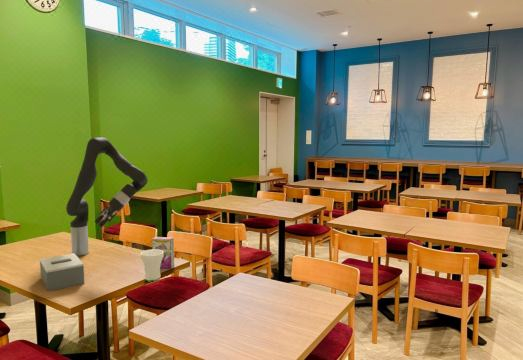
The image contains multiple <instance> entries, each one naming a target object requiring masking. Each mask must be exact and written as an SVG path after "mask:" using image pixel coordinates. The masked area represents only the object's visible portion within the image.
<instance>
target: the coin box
mask: <svg viewBox="0 0 523 360" xmlns="http://www.w3.org/2000/svg"><path fill="white" fill-rule="evenodd" d="M56 263H57V264H56ZM39 265H40V266H39V269H40V279H41V280H42V283H43V285H44V287H45V289H46V291H47V292H51V291H54V290H55V291H56V290H60V289H65V288H69V287H74V286H78V285H83V284H85V270H84V269H85V268H84V262H83V261H82V260H81V259H80V258H79V257H78V256H76V255H75V253H73V254H72V253H69V254H63V255H62V254H61V255H56V256H51V257H45V258H39Z"/></svg>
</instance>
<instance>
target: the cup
mask: <svg viewBox="0 0 523 360" xmlns="http://www.w3.org/2000/svg"><path fill="white" fill-rule="evenodd" d="M163 256H164V252H163V251H162V250H158V249H152V248H151V249H146V250H144V251H141V252H140V259H141V260H142V263H143V266H144V271H145V272H144V280H145V281H147V282H148V283H151V282H155V283H156V282H158V280H160V279H161V268H160V265H161V261H162V258H163Z"/></svg>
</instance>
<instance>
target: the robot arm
mask: <svg viewBox="0 0 523 360" xmlns="http://www.w3.org/2000/svg"><path fill="white" fill-rule="evenodd" d="M100 154H105V155H106V156H108V157H109V158H110V159H111V160H112V162H113V164H114V165H115V167H116V168H117V169H118V170H119V171H120V172H121V173H123V174H124V175H125V176H127V177H129V178H130V179H131V180H132V181H131V183H126V184H125V185H124V186H123V187H122V188H121V189H120V190H119V191H118V192H117V193H116V194H115V195H114V196H113V197H112V198H111V199H110V200H109V201H108V202H107V204H108V205H109V206H108V205H106V206H105V207H104V208H103V209H102V210H101V211H100V213H98V214H99V215H98V217H97V218H96V219H95V220H94V223H95V224H96V225H97V224H98V226H99V227H100V228H103V227H104V226H105V225H106V224H107V223H109V222H110V223H111V222H112V220H113V219H114V217H115V216H116V215H117V213H120V212H121V211H122V210H123V208H124V207H126V205H127V204H128V203H129V202H130V200H131V199H132V198H133V197H134V196H135V194H137V193H138V192H139V191H141V190H142V189H143V188H145V186H146V185H147V183H148V181H149V180H148V177H147V175H146V173H145V172H144V171H143V170H141V169H140V168H138V167H136V166H135V165H134V164H133V163H132V162H130V161H129V160H128V159H126V157H124V156H123V154H121V153H120V152H119V151H118V149H117V148H116V147H114V145H113V144H112V142H111V141H109V139H107V138H106V137H103V136H101V137H92V138H90V139H89V140H88V142H87V144H86V148H85V153H84V158H83V161H82V165H81V168H80V169H79V172H78V176H77V179H76V182H75V185H74V188H73V191H72V193H71V195H70V197H69V199H68V201H67V203H66V207H65V208H66V214H67V215H68V216H70V217H74V219H73V220H71V221H70V223H69V224H70V236H71V237H70V239H71V254H73V253H75V255H76V256H77V257H78V256H85V255H87V254H89V252H90V251H89V250H90V249H89V247H90V246H89V230H88V229H89V227H88V222H89V216H90V215H89V213H90V212H89V204H88V202H87V200H86V199H83V198H84V196H85V195H86V194H87V193H88V192H89V190H91V189H92V187H93V186H94V184H95V181H96V178H97V176H98V172H97V167H96V161H97V158H98V156H99V155H100Z"/></svg>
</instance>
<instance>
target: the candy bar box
mask: <svg viewBox="0 0 523 360" xmlns="http://www.w3.org/2000/svg"><path fill="white" fill-rule="evenodd" d="M151 249H158V250H162V251H163V252H164V256H163V258H162V261H161V265H160V269H173V268H174V266H175V238H174V237H169V236H168V237H164V236H154V237H153V238H151Z"/></svg>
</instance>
